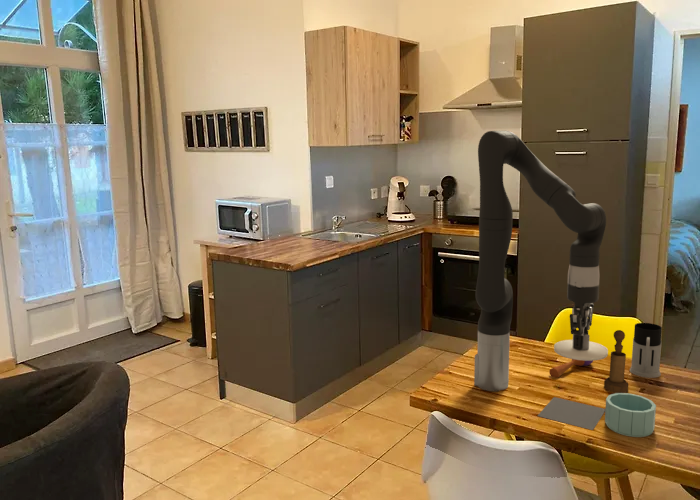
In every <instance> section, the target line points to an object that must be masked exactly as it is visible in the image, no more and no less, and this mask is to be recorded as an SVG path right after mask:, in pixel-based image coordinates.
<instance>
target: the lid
mask: <svg viewBox="0 0 700 500" xmlns="http://www.w3.org/2000/svg"><path fill="white" fill-rule="evenodd" d="M573 346H574V335H573V334H572V339H564V340H560V341H558V342H555V343H554V345H553V350H554V352H555V353H556V354H557V355H559V356H561V357H563V358H567V359H571V360H572V359H575V360H583V361H593V362H594V361H600V360H604V359H606V358H607V357H608V353H609V350H608V348H607V347H606V346H604V345H602V344H601V343H598V342H594V341H590V334H589V333H588V334H586V333H584V338H583V349H581V350H579V349H575V348H574V347H573Z"/></svg>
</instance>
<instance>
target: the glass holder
mask: <svg viewBox="0 0 700 500" xmlns="http://www.w3.org/2000/svg"><path fill="white" fill-rule="evenodd" d="M662 329H663V327H662V326H661V325H658V324H656V323H650V322H638V323H637V322H636V323H635V324H634V332H633V338H632V339H633V340H632V350H631V351H632V353H631V367H629V372H630V373H631V374H633V375H635V376H637V377H638V376H639V377H642V378H647V379H648V378H650V379H651V378H653V379H655V378H659V377H661V374H662V373H661V372H660V368H661V367H660V365H661V352H662V331H663V330H662Z"/></svg>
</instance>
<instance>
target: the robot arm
mask: <svg viewBox="0 0 700 500" xmlns="http://www.w3.org/2000/svg"><path fill="white" fill-rule="evenodd" d="M477 159H478V172H479V215H478V217H479V218H478V272H477V280H476V286H475V292H474V294H475V300H476V303H477V305H478V307H479V308H480V309H481V310H480V314H479V317H478V321H477V353H476V354H475V355H474V377H473V378H474V379H473V381H474V382H473V383H474V386H476V387H478V388H479V389H482V390H484V391H489V392H500V391H504V390H506V389H508V388H509V380H510V379H509V377H510V375H509V371H510V369H509V368H510V340H511V339H510V337H511V336H510V335H511V333H510V332H511V323H512V319H513V305H514V293H513V287H512V284H511V282H510V281H509V280H508V279H507V278H505V266H506V260H507V256H508V252H509V249H510V244H511V240H512V236H513V235H512V234H513V215H514V213H513V207H512V203H511V201H510V199H509V196H508V193H507V192H506V189H505V186H504V164H505V165H506V164H507V165H508V166H510V167H512V168H514V169H515V170H517V171H518V172H519V173H520V174H521V175H522V176H523V177H524V179H526V181H527V183H528V185H529V187H530V189H531V190H532V191H533V193H535V195H536V196H537V197H538V198H539V199H541V200H542V201H543V203H545V204H546V205H548V207H550V208H552V210H553V211H554V212H555V214H556V216H557V217H558V218H559V220H561V222H562V224H564V226H565V227H566V228H567V229H569V230H570V231H572V232H574V233H575V234H577V237H576V240H574V241H573V242H572V243H571V245H570V247H569V266H568V271H567V284H566V285H567V287H566V290H567V291H566V293H567V294H566V298H567V300H568V301H570V302H573V303H574V306H573V307H572V308H571V309H572V312H571V313H570V314H569V327H570V335H572V336H573V335H574V346H573V347H574V348H575V349H579V350H581V349H583V338H584V333H586V334H588V335H589V331H590V329H591V328H590V327H592V323H593V322H592V321H593V316H594V315H593V314H594V307H595V304H594V303H597V302H598V301H599V298H600V295H599V294H600V279H601V278H600V273H601V272H600V254H601V253H600V249H601V245H602V241H603V239H604V234H605V230H606V226H607V215H606V211H605V209H604V208H603V207H602V206H601V205H600V204H598V203H595V202H592V203H589V202H588V203H584V204H582V203H581V202H580V201H579V200H578V199H577V198H576V191H575V190H574V189H573V188H572V187H571V186H570V185H568V183H566V182H565V181H564V180H563V179H561V178H560V176H558V175H556V174H555V173H554V172H553V171H552V170H550V169H549V168H548V167H547V166H546V165H545V164H544V163H543V162H542V161H541V160H540V159H539V158H538V157H537V156H536V155H535V154H534V153H533V152H532V151H531V149H529V148H528V146H527V144H525V142H524V141H523V140H522V139H521V138H520V137H519V136H518V134H516V133H515V132H512V131H510V130H489V131H486V132H484V134H483V135H482V136H481V137H480V139H479V141H478V146H477Z"/></svg>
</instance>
